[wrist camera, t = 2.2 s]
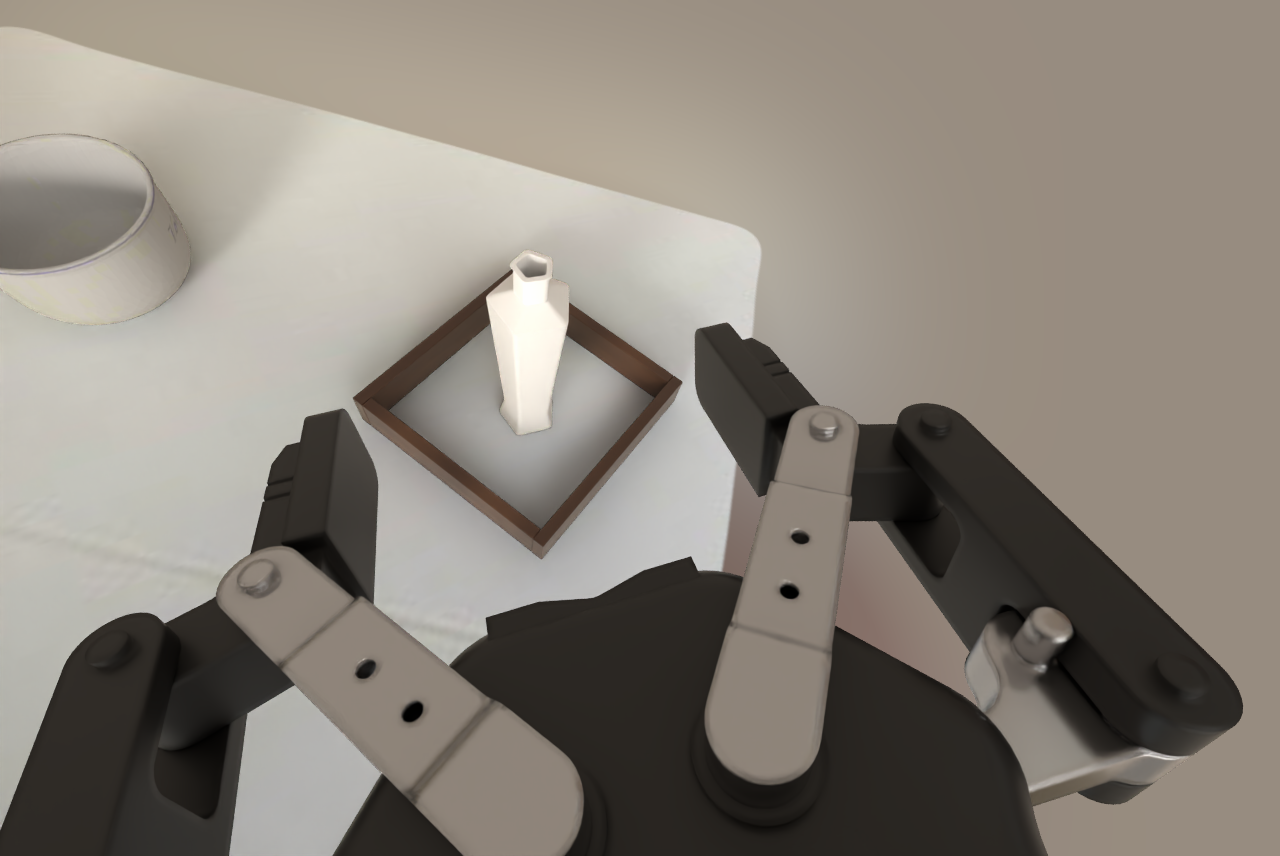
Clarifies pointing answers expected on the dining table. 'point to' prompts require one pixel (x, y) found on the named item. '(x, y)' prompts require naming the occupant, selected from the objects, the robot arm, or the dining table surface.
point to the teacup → (86, 231)
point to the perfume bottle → (529, 339)
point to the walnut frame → (539, 541)
